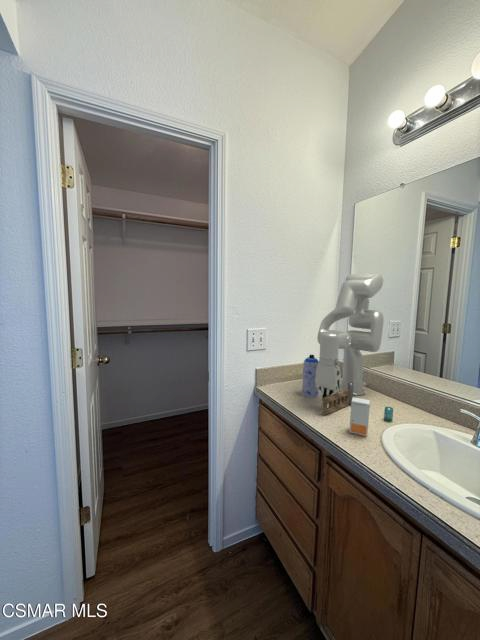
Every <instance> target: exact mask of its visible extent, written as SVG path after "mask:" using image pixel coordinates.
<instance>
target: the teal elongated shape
mask: <svg viewBox="0 0 480 640" xmlns="http://www.w3.org/2000/svg"><path fill="white" fill-rule="evenodd" d="M353 387H354V383H348V390H350V396H349V405H347V406H349V407H351V402H352V398H354V395H353ZM383 413H384V414H383V420H384V422H388V423H392V422H393V416H394V408H393V407H391V406H384V411H383Z"/></svg>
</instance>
